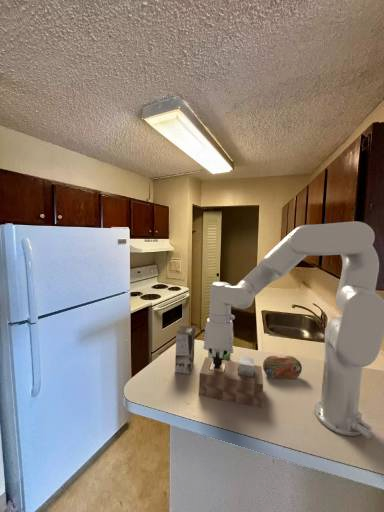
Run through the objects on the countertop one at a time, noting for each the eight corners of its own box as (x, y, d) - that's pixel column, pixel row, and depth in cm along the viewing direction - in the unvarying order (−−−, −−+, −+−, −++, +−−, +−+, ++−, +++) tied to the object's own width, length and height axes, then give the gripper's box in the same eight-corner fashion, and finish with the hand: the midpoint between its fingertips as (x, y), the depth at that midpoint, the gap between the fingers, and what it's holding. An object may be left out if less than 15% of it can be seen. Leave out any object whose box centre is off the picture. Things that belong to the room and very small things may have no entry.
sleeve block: (260, 386, 84) (261, 366, 84) (261, 407, 74) (263, 384, 73) (204, 376, 90) (205, 357, 89) (198, 395, 79) (199, 373, 78)
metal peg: (252, 379, 82) (253, 358, 81) (252, 387, 77) (253, 366, 77) (238, 376, 83) (239, 356, 83) (237, 385, 78) (238, 363, 78)
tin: (264, 379, 89) (265, 358, 89) (261, 374, 93) (262, 354, 92) (301, 379, 90) (303, 359, 89) (297, 374, 93) (299, 354, 93)
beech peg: (224, 383, 85) (225, 364, 84) (222, 392, 80) (223, 371, 79) (211, 381, 86) (211, 361, 85) (208, 389, 81) (209, 369, 80)
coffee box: (190, 374, 91) (191, 335, 89) (174, 372, 92) (175, 333, 91) (194, 362, 99) (195, 326, 98) (180, 360, 101) (181, 325, 99)
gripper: (241, 316, 83) (238, 364, 84) (201, 311, 86) (199, 357, 88) (240, 323, 75) (237, 376, 77) (196, 318, 79) (194, 368, 80)
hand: (217, 366), depth 82 cm, fingers closed
